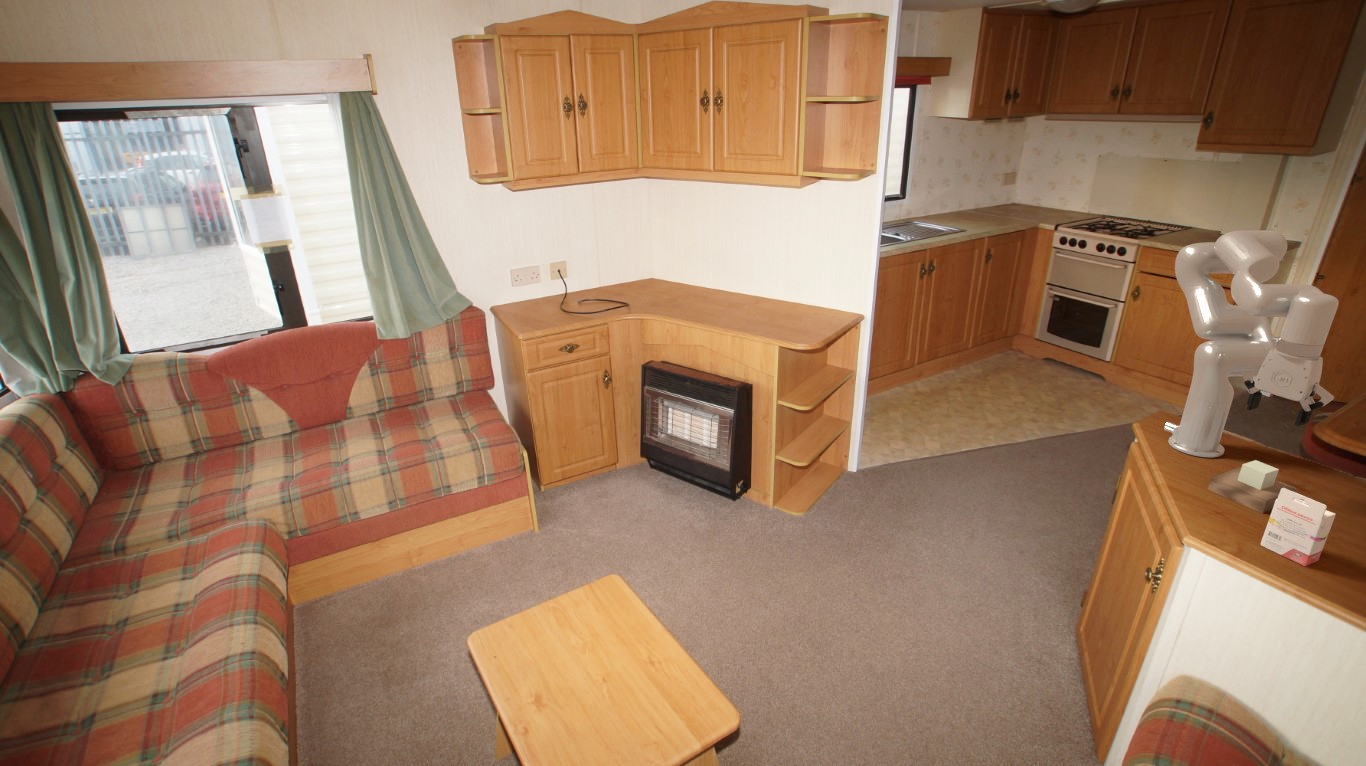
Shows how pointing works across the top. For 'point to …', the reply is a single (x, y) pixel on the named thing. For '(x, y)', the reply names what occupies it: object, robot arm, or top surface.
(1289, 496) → the ink cartridge box
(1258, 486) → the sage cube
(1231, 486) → the walnut block
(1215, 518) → the top surface
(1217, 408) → the robot arm
